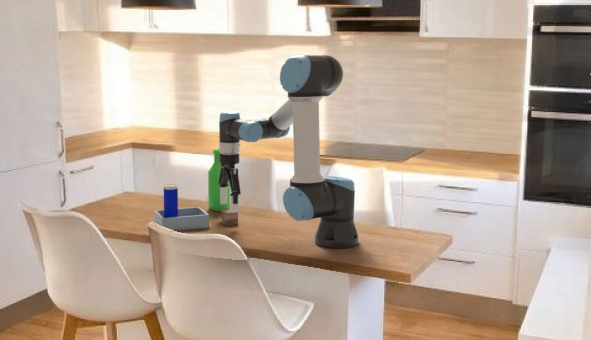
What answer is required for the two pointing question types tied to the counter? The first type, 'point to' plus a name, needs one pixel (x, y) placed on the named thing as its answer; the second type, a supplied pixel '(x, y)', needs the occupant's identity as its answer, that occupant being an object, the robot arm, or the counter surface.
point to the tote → (183, 219)
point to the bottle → (216, 185)
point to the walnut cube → (229, 217)
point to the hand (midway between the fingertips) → (229, 207)
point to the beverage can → (170, 201)
